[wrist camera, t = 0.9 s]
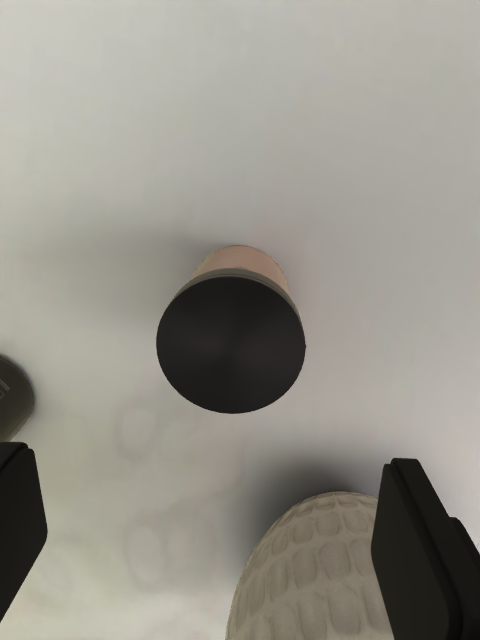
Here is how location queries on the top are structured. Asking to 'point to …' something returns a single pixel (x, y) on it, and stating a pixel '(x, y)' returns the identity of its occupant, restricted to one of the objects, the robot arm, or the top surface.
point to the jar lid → (231, 341)
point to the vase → (313, 576)
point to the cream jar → (243, 263)
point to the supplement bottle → (13, 400)
